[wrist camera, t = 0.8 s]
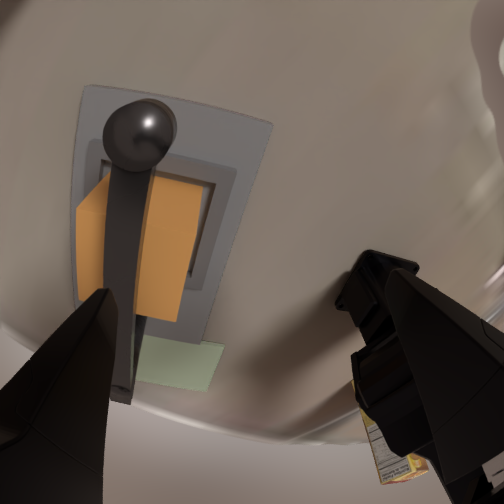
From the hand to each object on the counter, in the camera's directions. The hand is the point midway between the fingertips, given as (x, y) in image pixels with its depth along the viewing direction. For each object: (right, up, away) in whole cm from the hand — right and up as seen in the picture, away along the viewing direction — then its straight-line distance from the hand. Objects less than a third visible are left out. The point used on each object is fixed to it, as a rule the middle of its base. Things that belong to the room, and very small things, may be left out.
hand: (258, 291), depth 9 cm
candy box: (+17, -17, +28) cm, 37 cm away
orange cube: (-7, +3, +11) cm, 13 cm away
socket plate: (-8, +2, +12) cm, 15 cm away
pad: (-8, -11, +21) cm, 25 cm away
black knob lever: (-7, +3, +11) cm, 13 cm away
